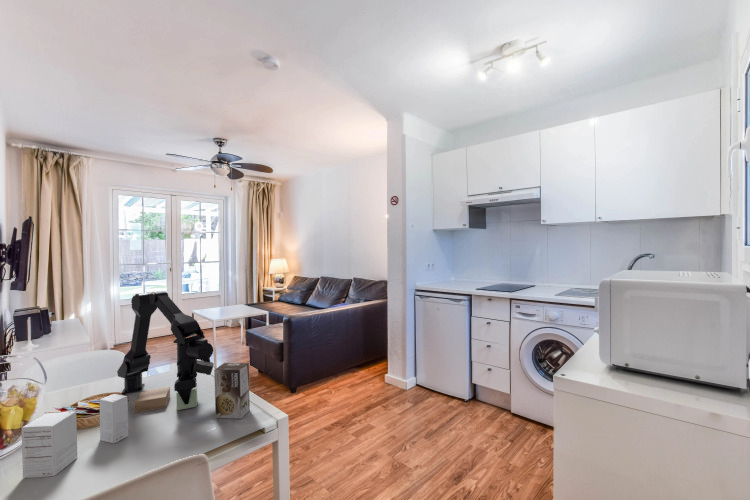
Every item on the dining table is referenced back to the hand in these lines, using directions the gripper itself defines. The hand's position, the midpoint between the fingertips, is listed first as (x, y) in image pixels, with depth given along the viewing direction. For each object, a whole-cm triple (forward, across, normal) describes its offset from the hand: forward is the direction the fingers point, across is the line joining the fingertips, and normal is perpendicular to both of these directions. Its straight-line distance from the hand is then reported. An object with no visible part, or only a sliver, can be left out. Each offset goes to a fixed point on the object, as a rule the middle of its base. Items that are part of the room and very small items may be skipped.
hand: (187, 400), depth 117 cm
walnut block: (+2, +7, +11) cm, 13 cm away
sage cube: (+2, 0, 0) cm, 2 cm away
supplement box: (+2, -22, +29) cm, 36 cm away
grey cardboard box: (+2, -14, -14) cm, 20 cm away
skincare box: (+2, -13, +18) cm, 22 cm away
